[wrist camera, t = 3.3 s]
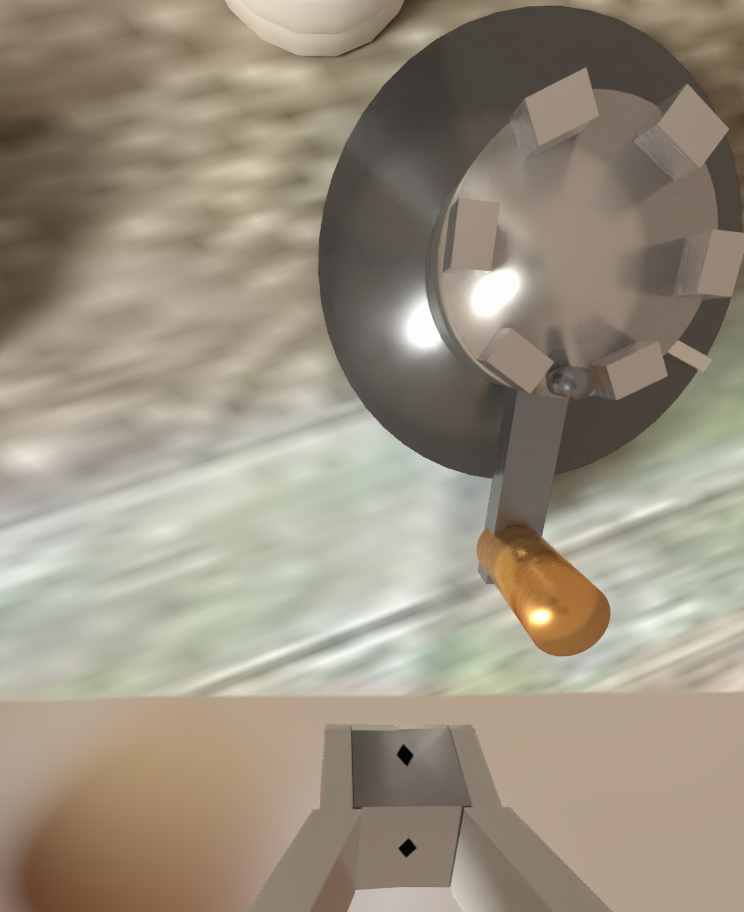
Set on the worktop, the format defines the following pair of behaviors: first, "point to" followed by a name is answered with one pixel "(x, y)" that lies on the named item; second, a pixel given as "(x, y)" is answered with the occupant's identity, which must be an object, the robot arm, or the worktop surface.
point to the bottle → (316, 23)
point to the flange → (418, 204)
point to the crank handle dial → (572, 300)
